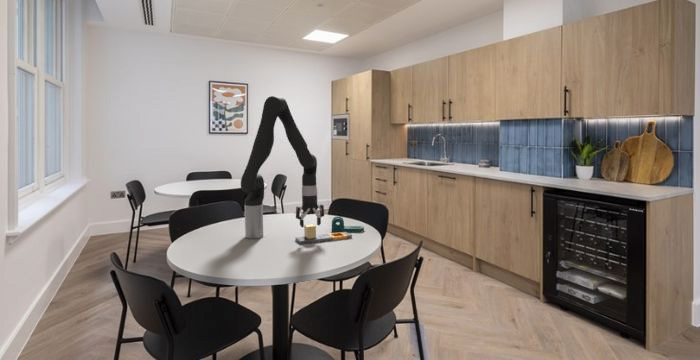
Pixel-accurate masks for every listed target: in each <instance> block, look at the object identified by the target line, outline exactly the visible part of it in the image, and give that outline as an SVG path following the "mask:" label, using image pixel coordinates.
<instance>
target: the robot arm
mask: <svg viewBox="0 0 700 360" xmlns="http://www.w3.org/2000/svg"><path fill="white" fill-rule="evenodd" d="M277 119H279V120H280V122H281V123H282V125H283V128H284V130H285V135H286V137H287V140H288V142H289V143H290V146H291V147H292V149H293V151H294V152H295V154H296V157H297V160H298V161H299V164H300V166H301V167H302V168H303V173H302V176H301V183H302V184H301V185H302V186H301V199H302V200H301V203H302V206H296V207H295V219H297V220H299V226H300V227H301V228H304V225H305V224H304V221H305V217H307V215H315V216H316V225H317V226H321V223H322V221H321V220H322V217H325V208H324V206H325V205H324V204H323V203H322V204H318V187H317V171H318V170H317V169H318V159H317V157H316V156H315V155H314V154H312V153H311V152H310V150H309V149H308V144H307V141H306V140H305V138H304V136H303V135H302V133H301V131H300V130H299V128H298V126H297V124H296V122H295V119H294V118H293V115H292V112H291V110H290V107H289V105H288V102H287V101H286V99H285V98H284V97H283V96H280V95H279V96H278V95H277V96H275V95H271V96H269V97H267V98H266V99H265V101H264V104H263V109H262V113H261V119H260V123H259V126H258V129H257V133H256V136H255V139H254V142H253V145H252V149H251V153H250V155H249V157H248V158H249V159H248V161H247V165H246V166H245V169H244V172H243V174H242V176H241V180H240V188H241V190H242V191H243V192H244V193H249V194H248V196H247V197H246V198H245V199H244V205H243V206H244V231H245V238H246V239H254V240H255V239H261V238H264V207H263V205H264V204H263V202H264V199H265V179H264V178H263V176H262V175H261V174H260V173H259V171H260V169H261V167H262V166H263V164H264V163H266V161H267V159H268V158H269V157H270V155H271V153H272V150H273V145H274V141H275V133H274V132H275V124H276V122H277ZM318 209H319V212H318V211H317V210H318ZM301 211H302V212H301ZM300 213H301V214H300ZM319 213H320V214H319Z"/></svg>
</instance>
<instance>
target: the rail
mask: <svg viewBox="0 0 700 360" xmlns="http://www.w3.org/2000/svg"><path fill="white" fill-rule="evenodd" d="M352 238H353V235H352V234H351V233H350V232H331V233H323V234H322V233H321V234H316V239H311V240H306V239H305V236H298V237H297V236H296V237H295V238H294V239H295V242H296V243H298V244H299V245H305V244H306V245H307V244H316V243H323V242H331V241H332V240H333V241H338V240H339V239H340V240H346V239H347V240H348V239H352ZM340 240H339V241H340Z"/></svg>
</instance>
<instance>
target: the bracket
mask: <svg viewBox="0 0 700 360" xmlns="http://www.w3.org/2000/svg"><path fill="white" fill-rule="evenodd" d="M337 223H338V224H337ZM338 232H347V233H364V232H365V226H361V225H345V220H344V218H343V217H342V216H340V215H339V216H334V217H333V218H332V221H331V233H338Z"/></svg>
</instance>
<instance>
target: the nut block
mask: <svg viewBox="0 0 700 360" xmlns="http://www.w3.org/2000/svg"><path fill="white" fill-rule="evenodd" d="M303 228H304V230H303V231H304V234H303V235H304V236H305V239H306V240H311V239H316V235H317V227H316V225H315V224H313V223H312V224H304V227H303ZM304 236H303V237H304Z"/></svg>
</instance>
